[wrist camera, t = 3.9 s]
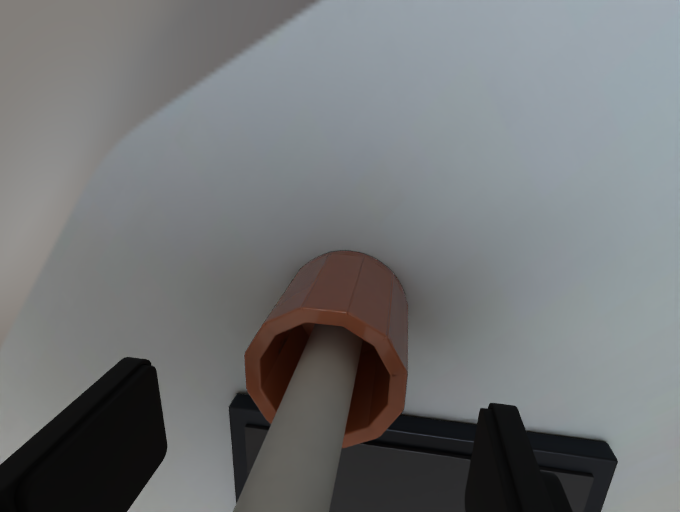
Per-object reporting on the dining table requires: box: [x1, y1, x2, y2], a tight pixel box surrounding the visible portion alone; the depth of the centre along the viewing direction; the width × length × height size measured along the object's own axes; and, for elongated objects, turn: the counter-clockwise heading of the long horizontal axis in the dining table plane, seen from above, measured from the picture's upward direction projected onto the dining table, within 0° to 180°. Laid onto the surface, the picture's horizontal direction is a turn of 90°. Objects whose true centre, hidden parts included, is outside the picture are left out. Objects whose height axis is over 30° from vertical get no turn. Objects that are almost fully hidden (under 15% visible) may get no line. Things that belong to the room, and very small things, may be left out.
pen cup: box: [244, 251, 408, 448], centre depth 14 cm, size 5×5×5 cm
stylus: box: [233, 324, 363, 512], centre depth 11 cm, size 2×2×11 cm
